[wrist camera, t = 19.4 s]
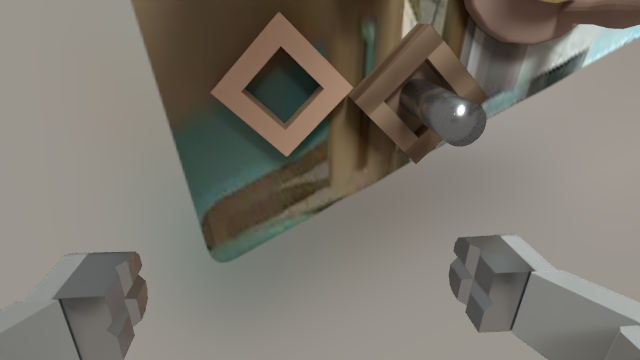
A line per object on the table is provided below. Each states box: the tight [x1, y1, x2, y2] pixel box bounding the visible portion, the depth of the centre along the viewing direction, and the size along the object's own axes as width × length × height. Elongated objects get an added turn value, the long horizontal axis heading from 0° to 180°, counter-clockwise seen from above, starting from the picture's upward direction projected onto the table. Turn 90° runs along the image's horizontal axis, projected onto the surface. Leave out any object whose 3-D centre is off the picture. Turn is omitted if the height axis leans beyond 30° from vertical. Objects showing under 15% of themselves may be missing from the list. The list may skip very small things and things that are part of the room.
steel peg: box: [400, 78, 486, 146], centre depth 36 cm, size 4×4×12 cm
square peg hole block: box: [348, 24, 488, 164], centre depth 42 cm, size 11×11×4 cm
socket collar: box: [210, 12, 353, 157], centre depth 40 cm, size 11×11×3 cm
